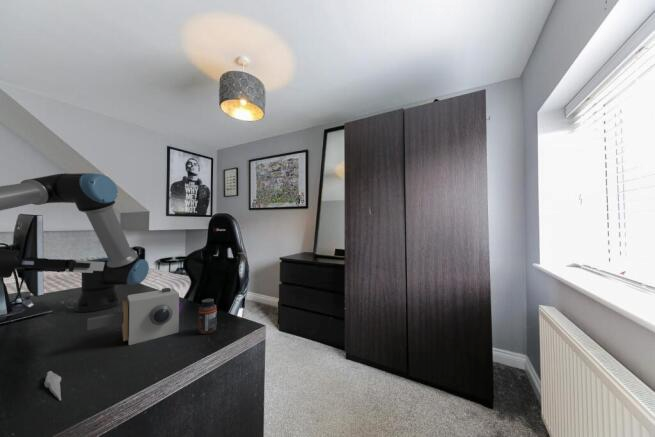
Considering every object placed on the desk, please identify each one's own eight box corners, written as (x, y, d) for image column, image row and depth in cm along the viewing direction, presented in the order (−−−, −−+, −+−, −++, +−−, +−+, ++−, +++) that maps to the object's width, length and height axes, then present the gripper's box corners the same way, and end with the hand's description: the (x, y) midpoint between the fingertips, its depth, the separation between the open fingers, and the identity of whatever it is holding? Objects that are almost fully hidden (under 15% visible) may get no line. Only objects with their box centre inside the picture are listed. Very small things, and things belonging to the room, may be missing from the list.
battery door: (87, 340, 78) (88, 306, 79) (125, 331, 85) (126, 300, 85) (86, 350, 72) (87, 313, 72) (127, 340, 79) (128, 306, 79)
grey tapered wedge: (41, 379, 61) (41, 372, 61) (56, 374, 63) (57, 367, 63) (51, 408, 52) (51, 399, 52) (69, 400, 55) (69, 392, 55)
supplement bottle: (195, 331, 88) (196, 300, 89) (212, 326, 93) (212, 296, 93) (201, 336, 84) (202, 303, 85) (219, 330, 89) (219, 299, 89)
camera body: (126, 335, 85) (126, 292, 86) (173, 324, 95) (173, 285, 95) (128, 348, 76) (129, 300, 77) (180, 334, 86) (180, 291, 86)
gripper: (-13, 278, 70) (86, 280, 87) (-15, 275, 56) (105, 278, 72) (-4, 253, 72) (92, 259, 89) (-3, 243, 58) (111, 253, 74)
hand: (98, 267), depth 80 cm, fingers open, 13 cm apart
